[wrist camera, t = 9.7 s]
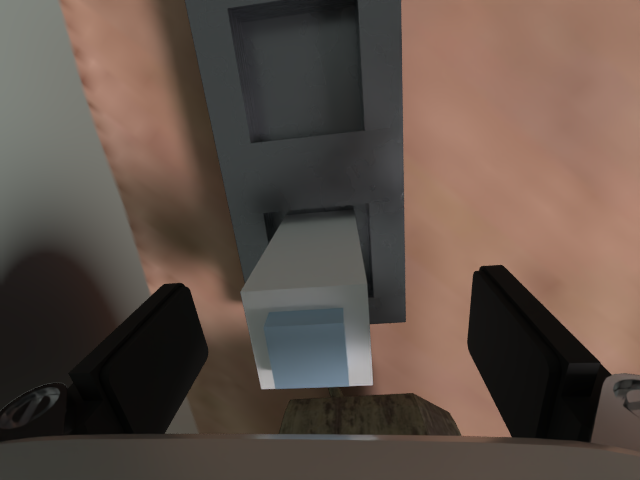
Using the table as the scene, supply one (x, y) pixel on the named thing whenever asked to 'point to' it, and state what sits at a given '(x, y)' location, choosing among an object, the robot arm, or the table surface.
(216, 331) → the table surface
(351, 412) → the tabletop clock
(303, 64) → the panel
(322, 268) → the plug
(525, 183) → the table surface
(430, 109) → the table surface
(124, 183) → the table surface
